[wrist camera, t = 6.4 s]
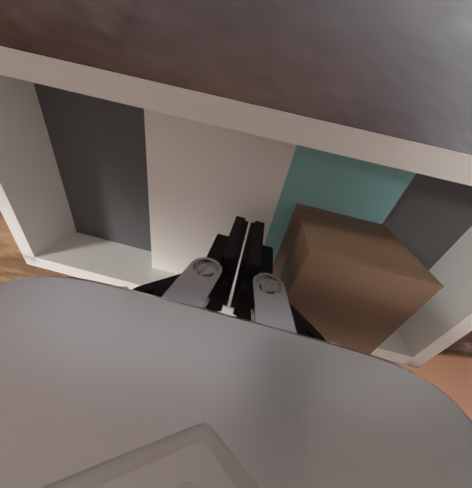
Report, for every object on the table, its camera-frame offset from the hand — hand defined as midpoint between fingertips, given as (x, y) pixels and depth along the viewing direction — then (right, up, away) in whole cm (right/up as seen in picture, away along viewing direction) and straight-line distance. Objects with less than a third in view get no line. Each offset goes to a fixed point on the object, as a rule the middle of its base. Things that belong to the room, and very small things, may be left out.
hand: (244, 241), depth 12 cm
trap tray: (0, +2, +3) cm, 3 cm away
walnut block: (+5, 0, +1) cm, 5 cm away
